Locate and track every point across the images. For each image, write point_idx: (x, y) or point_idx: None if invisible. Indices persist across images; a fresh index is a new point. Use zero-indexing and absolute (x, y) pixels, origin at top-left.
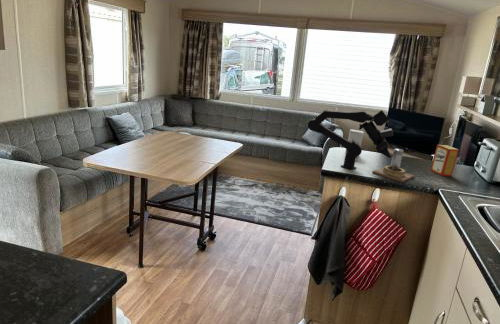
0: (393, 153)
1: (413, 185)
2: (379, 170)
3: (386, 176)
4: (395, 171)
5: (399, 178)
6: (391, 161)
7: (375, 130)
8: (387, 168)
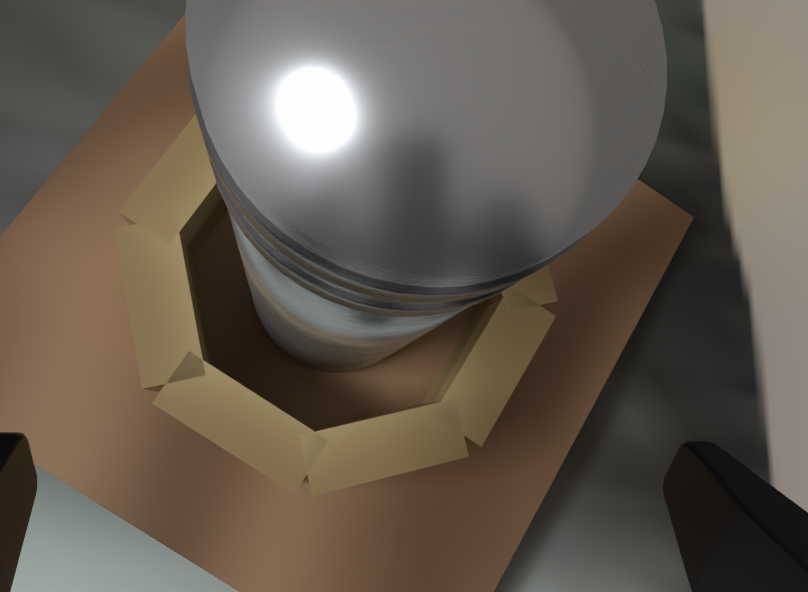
0: (434, 313)
1: (693, 74)
2: (300, 555)
3: (565, 441)
4: (551, 285)
5: (611, 236)
6: (376, 350)
7: None
8: (418, 427)
